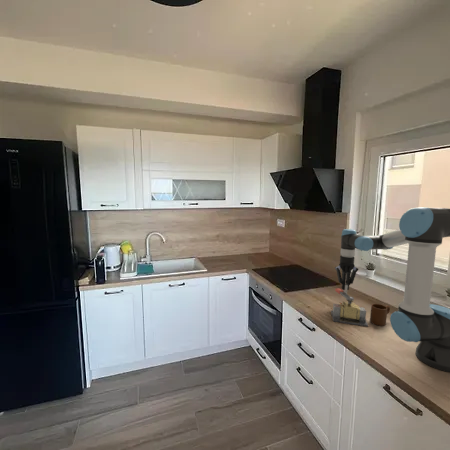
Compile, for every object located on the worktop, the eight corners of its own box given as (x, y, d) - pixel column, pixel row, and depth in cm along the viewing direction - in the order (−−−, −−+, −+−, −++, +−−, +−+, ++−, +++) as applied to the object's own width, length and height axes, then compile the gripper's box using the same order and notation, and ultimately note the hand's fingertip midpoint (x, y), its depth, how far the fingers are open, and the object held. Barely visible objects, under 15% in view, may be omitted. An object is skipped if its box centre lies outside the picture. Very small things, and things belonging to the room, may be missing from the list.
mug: (381, 317, 147) (383, 301, 146) (394, 323, 140) (396, 307, 139) (366, 320, 142) (368, 304, 141) (379, 327, 135) (381, 310, 134)
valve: (367, 326, 136) (369, 307, 134) (333, 321, 140) (335, 303, 139) (362, 316, 147) (364, 299, 146) (330, 311, 152) (332, 295, 150)
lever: (354, 301, 141) (355, 298, 140) (348, 301, 140) (348, 298, 140) (340, 291, 156) (340, 288, 156) (334, 291, 156) (334, 288, 156)
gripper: (355, 254, 152) (352, 292, 155) (333, 254, 153) (331, 292, 155) (361, 257, 145) (358, 297, 147) (338, 257, 145) (336, 297, 148)
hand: (344, 294), depth 151 cm, fingers closed
